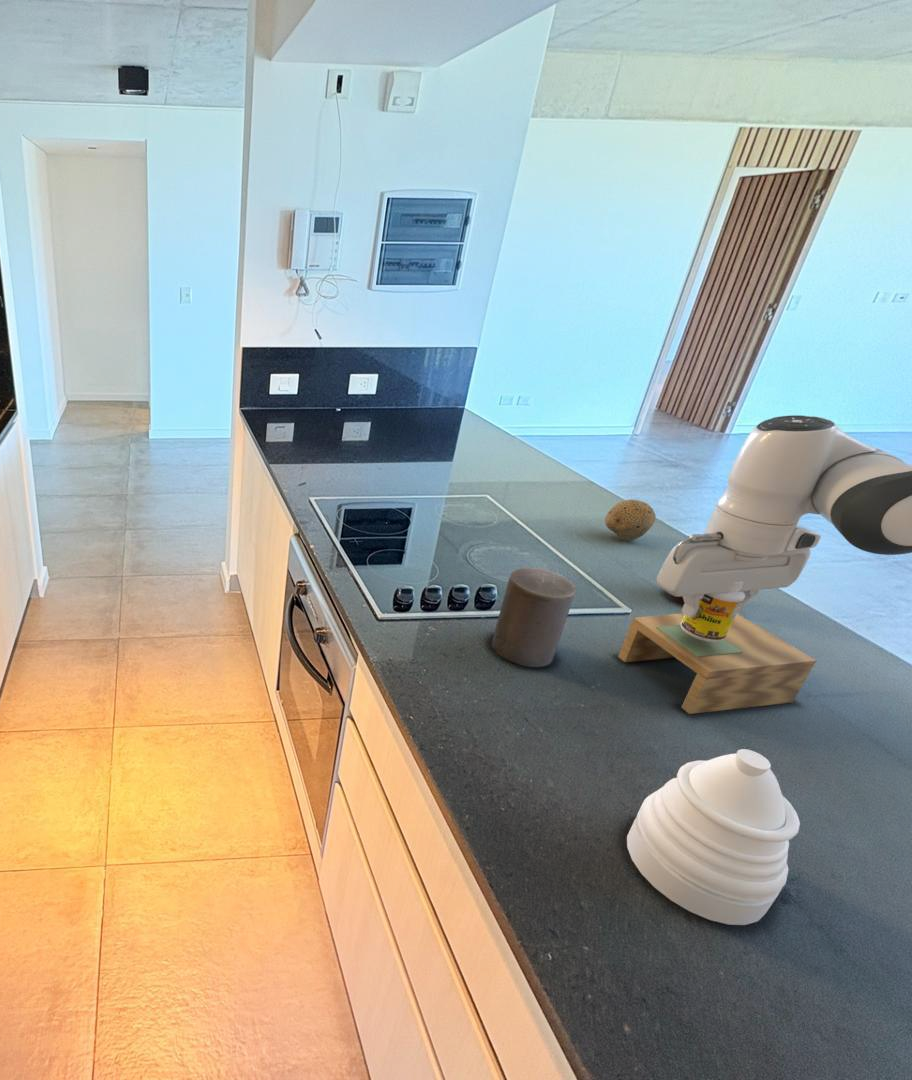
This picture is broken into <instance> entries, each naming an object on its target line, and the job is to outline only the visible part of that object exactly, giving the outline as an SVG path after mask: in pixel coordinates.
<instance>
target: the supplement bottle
mask: <svg viewBox="0 0 912 1080" xmlns="http://www.w3.org/2000/svg"><path fill="white" fill-rule="evenodd" d="M742 584H743V582H734V583H733V585H732V587H731V588H730V589H731V590H729V591H730V592H726V593H714V594H704V596H703V599H699V606H701V607H703V608H704V609H703V611H702V612H701V615H700V616H699V617H691V618H689V617H687V616H686V615H684V616H683V619H682V621H681V628H682V629H683V631H684V632H686V633H687V634H688V635H690V636H692V637H694V638H697V639H699V640H703V641H708V642H719V641H722V640H723V639H724V638H725V637H726V635H727V633H728V631H729V629H730V627H731V625H732V623H733V621H734V619H735V616H736V614H738V613H737V612H738V610H739V608H740V606H741V604H742V602H743V600H744V598H745V594H744V592H743V591H739V590H741V589H740V588H742Z"/></svg>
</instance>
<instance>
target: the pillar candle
mask: <svg viewBox="0 0 912 1080" xmlns="http://www.w3.org/2000/svg"><path fill="white" fill-rule="evenodd" d="M576 588H577V587H576V586H575V584H574V583H573V582H572V581H570V580H569V579H568V578H566V577H564V576H563V575H562V574H560V573H558V572H553V571H550V570H546V569H543V568H537V567H521V568H520V567H519V568H517V569H514V570H512V571H511V574H510V575H509V578H508V582H507V584H506V588H505V592H504V595H503V599H502V603H501V606H500V611H499V615H498V618H497V622H496V624H495V628H494V633H493V637H492V639H491V647H492V649H493V650H494V651H495V653H496V654H497V655H498V656H500V657H502V658H503V659H504V660H506V661H508V662H510V663H513V664H516V665H519V666H521V667H528V668H543V667H546V666H549V665H550V664H551V663H553V660H554V657H555V655H556V652H557V649H558V646H559V643H560V640H561V637H562V635H563V632H564V628H565V624H566V622H567V619H568V615H569V613H570V610H571V607H572V603H573V601H574V597H575V594H576V592H577V589H576Z"/></svg>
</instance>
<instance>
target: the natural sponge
mask: <svg viewBox="0 0 912 1080" xmlns="http://www.w3.org/2000/svg"><path fill="white" fill-rule="evenodd" d="M604 518H605V519H604V524H605V526H606V528H607V529H609V530H610V531H611V532H612V533H614V534H616V536H617V537H618V538H619V539H621V540H622V541H624V542H625V541H626V542H631V541H635V540H637V539H639V538H641V537H643V536H644V535H645V534H647V532H648V531H649V530H650V529H651V528H652V527H653V525H654V523H655V522H656V518H657V517H656V512H655V511H654V509H653V508H652V506H651V505H650V504H649V503H647V502H645V501H643V500H639V499H625V500H621V501H619V502H618V503H616V504H615V505H614V506H612V507H611V509H610V510H609V511H608V512H607V514H606V515H605V517H604Z"/></svg>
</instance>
